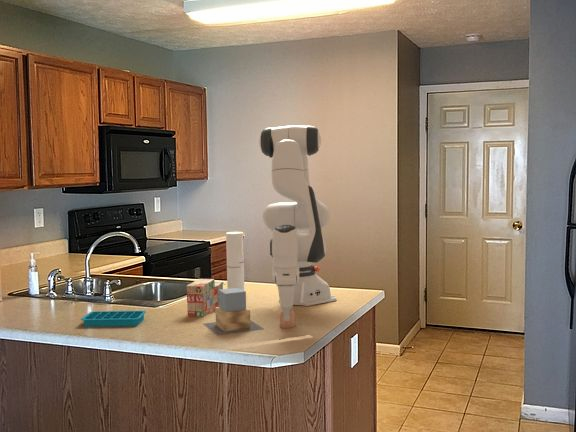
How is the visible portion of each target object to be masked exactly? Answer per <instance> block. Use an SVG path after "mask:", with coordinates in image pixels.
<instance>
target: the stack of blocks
mask: <svg viewBox="0 0 576 432" xmlns="http://www.w3.org/2000/svg"><path fill="white" fill-rule="evenodd" d="M223 285H224V284H223V282H222V281H215V279H214V278H198V279H196V280H194V281H193V282H191V283H189V284H187V285H186V303H187V318H188V317H201V318H202V317H205V316H207V315H213V314H215V307H219V290H221V289H224V286H223ZM212 313H213V314H212Z"/></svg>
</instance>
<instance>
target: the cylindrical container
mask: <svg viewBox="0 0 576 432" xmlns="http://www.w3.org/2000/svg"><path fill="white" fill-rule="evenodd" d="M225 243H226V245H225V248H226V278H227V279H226V284H227V285H226V286H227V288H226V289H231V288H240V289H242V290H244V291H245V266H244V265H245V263H244V261H245V260H244V259H245V258H244V232H243V231H227V232H226V233H225Z"/></svg>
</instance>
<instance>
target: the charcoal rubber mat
mask: <svg viewBox="0 0 576 432" xmlns="http://www.w3.org/2000/svg"><path fill="white" fill-rule="evenodd" d="M203 325H204V327H206V328H207V329H208V330H209V331H211V332H212V333H213V334H214V335H216V336H218V337H219V336H225V335H226V336H227V335H233V334H238V333H246V332H254V331H262V330H265V328H264V327H262V326H261V325H259V324H257V323H256V322H254V321H252V320H251V319H250V325H251V328H246V329H238V330H231V331H223V330H222V329H221V328H219V327H218V326H217V325H216V321H215V322H214V321H211V322H207V323H203Z"/></svg>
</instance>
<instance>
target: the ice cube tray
mask: <svg viewBox="0 0 576 432" xmlns="http://www.w3.org/2000/svg"><path fill="white" fill-rule="evenodd" d="M146 313H147V311H146V310H102V311H101V310H100V311H98V310H97V311H89V313H87V314H85V315H83V317H82V318H80V320H81V321H83V325H84V327H87V328H91V327H136V326H138V325H140V323H142V321H144V317H145V315H146Z"/></svg>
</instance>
